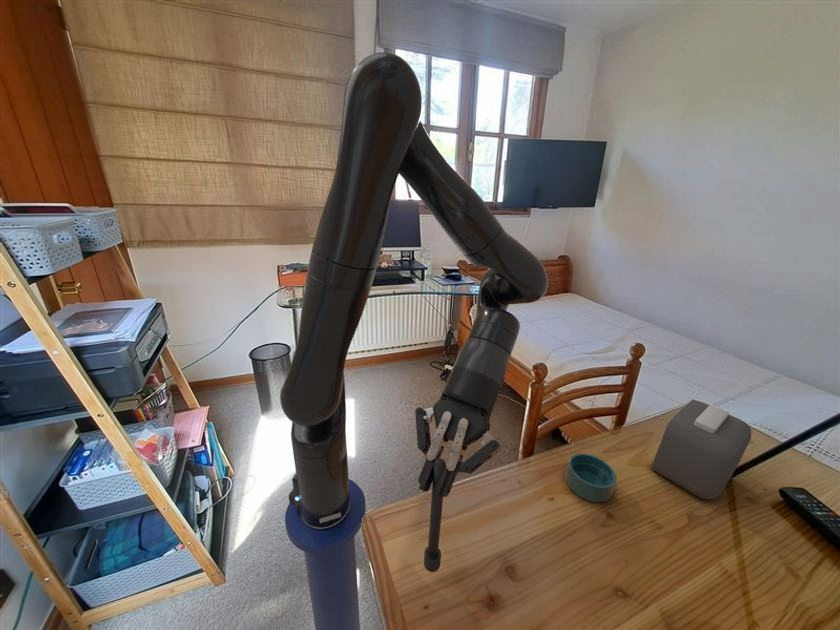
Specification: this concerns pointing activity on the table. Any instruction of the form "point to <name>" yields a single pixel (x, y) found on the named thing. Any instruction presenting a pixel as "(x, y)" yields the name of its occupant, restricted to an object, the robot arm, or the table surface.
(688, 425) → the alarm clock
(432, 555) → the long dark rod
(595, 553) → the table surface
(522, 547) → the table surface
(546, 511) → the table surface
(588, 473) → the bowl
